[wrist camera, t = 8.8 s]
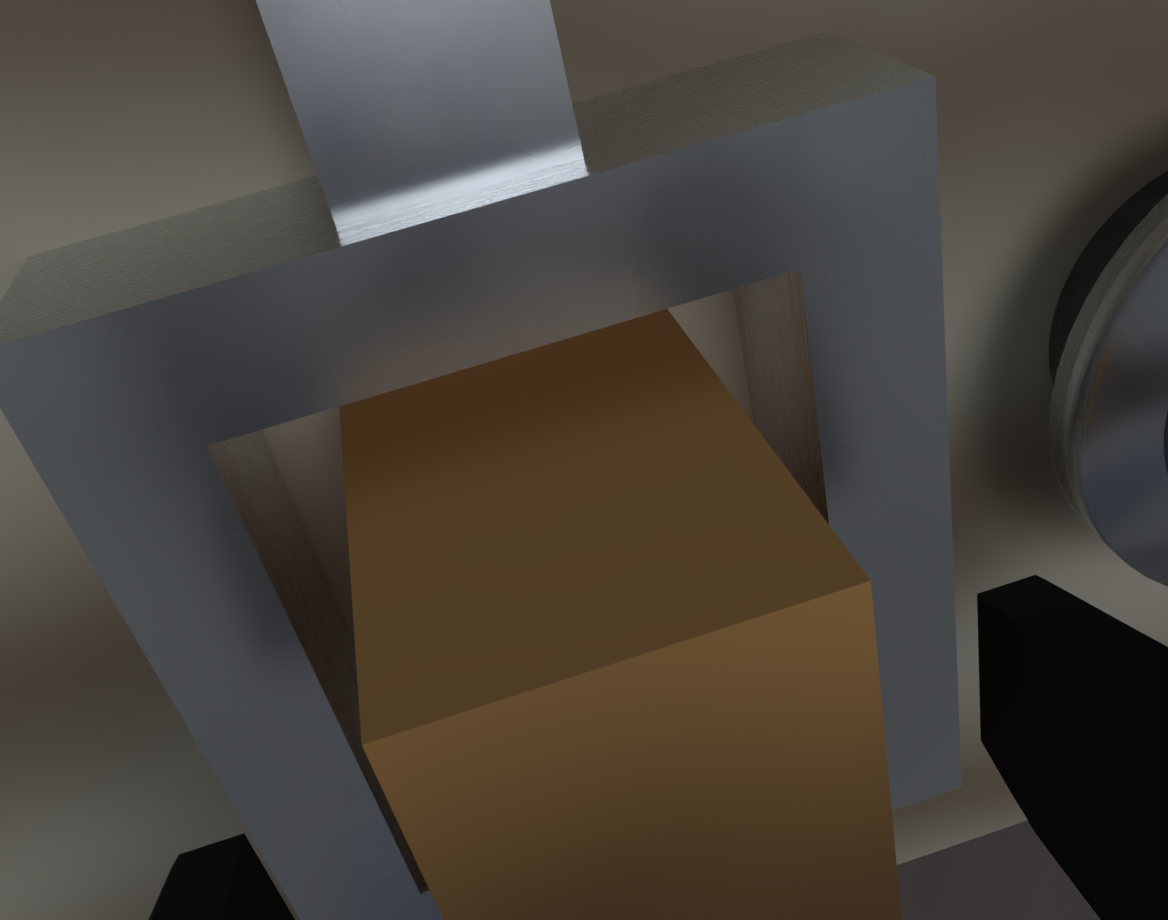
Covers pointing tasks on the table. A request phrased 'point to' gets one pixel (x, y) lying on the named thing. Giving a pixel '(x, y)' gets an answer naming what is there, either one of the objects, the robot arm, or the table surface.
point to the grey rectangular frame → (526, 321)
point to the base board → (603, 65)
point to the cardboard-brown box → (612, 646)
